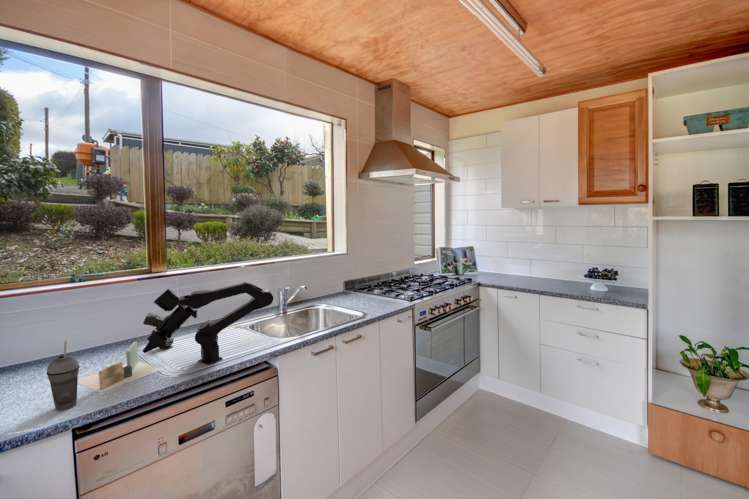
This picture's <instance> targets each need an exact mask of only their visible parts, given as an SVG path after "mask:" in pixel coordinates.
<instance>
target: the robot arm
mask: <svg viewBox="0 0 749 499" xmlns="http://www.w3.org/2000/svg"><path fill="white" fill-rule="evenodd" d="M241 294H242V295H243V294H247V295H249V296H250V297H251V299H249V301H247V302H245V303H244V304H242V305H240V306H238V307H237V308H235V309H233V310H232V311H230V312H229V313H227V314H226V315H224V316H222V317H221V318H219V319H217V320H214V321H211V319H208V320H206V321H205V322H204V323H201V324H199V327H198V328H197V329H196V331H195V335H194V341H195V343H197V344H199V345H200V356H201V358H200V359H198V360H197V361H198V363H203V364H206V365H212V364H214V363H216V362H219V361H221V360H223V359H224V358H223V357H222V356H220V345H219V343H218V341H219V334H220V333H221V332H222V331H223V330H225V329H226V328H228V327H230V326H231V325H233V324H234V323H236V322H238V321H239V320H242V318H244V317H246V316H247V315H249V314H250V313H252V312H254V311H257V310H260V309H263V308H266V307H268V306H270V305H271V304H273V302H274V296H273V293H272V292H271V290H270V289H266V288H261V287H259V286H257V285H255V284H252V283H251V282H250V281H243V282H241V283H236V284H232V285H229V286H228V285H227V286H224V287H220V288H217V289H209V290H207V289H205V290H194V291H192V292H191V293H190V294H187V295H181V296H178V295H177V294H176V293H175V292H173V290H171V289H170V288H167V289H166V290H165V291H164V292H163V293H161V294H160V295H159V296H158V297H157V298H156V299H155V300H153V304H155V305H156V306H158V307H159V308H160V309H162V310H163V311H164V312H171V313H170V314H169V315H166V316H165V317H164V316H161V315H158V314H155V313H151V312H148V313H147V314H146V316H145V318H144V321H143V322H142V324H143V325H144V326H150V327H155V329H153V330H151V332H150V334H149V335H148V337H147V341H148V343H147V344H146V346H145V347H144V348H143V349H142V352H143V353H144V354H146V353H149V352H150V351H152V350H155V349H157V348H158V349H160V350H161V349H163V348H164V347H165V346H166V345H167V343H168V339H167V338H166V337H168V338H170V337H171V338H172V336H173V334H175V333H176V332H177V331H178V330H179V329H181V327H182V325H183V324H184V323H185V322H187V321H188V320H189V319H190V317H193V318H194V319H197V318H198V309H200V308H203V307H205V306H208V305H209V304H211V303H213V302H216V301H219V300H223V299H226V298H231V297H235V296H238V295H241Z"/></svg>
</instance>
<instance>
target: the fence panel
mask: <svg viewBox="0 0 749 499" xmlns="http://www.w3.org/2000/svg"><path fill="white" fill-rule="evenodd" d="M125 352H126V354H125V355H126V364H127V366H132V371H133V369H134V368H135V366H136V364H137V363H138V361H139V353H138V352H139V350H138V341H137V340H136V341H133V342H132V343H131V345H130V346H129V347H128V349H127V350H126V351H125Z"/></svg>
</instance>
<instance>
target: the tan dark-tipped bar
mask: <svg viewBox="0 0 749 499" xmlns="http://www.w3.org/2000/svg"><path fill="white" fill-rule="evenodd" d="M123 365H124V364H123V361H118V362H117V363H114V364H112V365H109V366H107V367H104V368H102V369H99V371H98V373H99V382H100V389H103V388H106V387H108V386H110V385H112V384H114V383H116V382H118V381H120V380H122V379H123V371H124V377H131V376H132V366H126V367H124V368H123Z"/></svg>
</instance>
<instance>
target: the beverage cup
mask: <svg viewBox="0 0 749 499" xmlns="http://www.w3.org/2000/svg"><path fill="white" fill-rule="evenodd" d="M63 343H64V344H63V355H60V356H56V357H54V359H52V360H51V361H50V362H49V364H48V366H47V369H46V373H45V374H46V376H47V378H48V381H49V384H50V389H51V394H52V399H53V405H54V407H55V411H57V412H63V411H64V412H65V411H68V410H70V409H73V408H74V407H76V406H77V402H78V383H77V381H78V377H79V376H78V375H79V372H80V371H79V370H80V364H79V362H78V359H76V358H75V357H74V356H72V355H67V346H68V345H67V340H65V341H64V342H63Z"/></svg>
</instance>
